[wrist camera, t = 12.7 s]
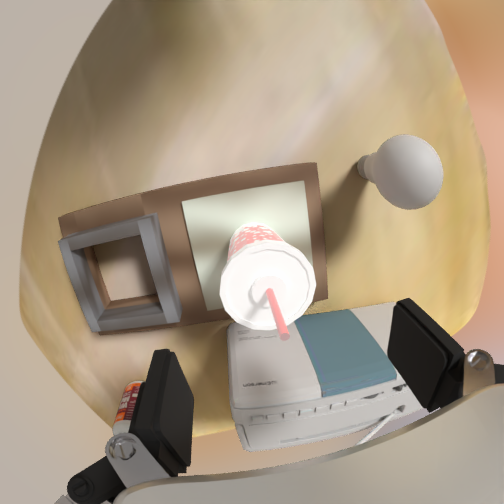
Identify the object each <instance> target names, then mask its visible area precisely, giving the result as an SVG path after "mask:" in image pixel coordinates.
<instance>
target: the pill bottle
mask: <svg viewBox="0 0 504 504" xmlns="http://www.w3.org/2000/svg"><path fill="white" fill-rule="evenodd" d="M142 382H145V381H133V382H131V383H129V384H128V385H127V386H126V388H125V391H124V394H123V397H122V400H121V403H120V406H119V409H118V412H117V416H116V419H115V422H114V426H113V435H114V436H115V435H117V434H119V433H128V431H129V427H130V422H131V418H132V414H133V410H134V407H135V403H136V399H137V395H138V391H139V388H140V385H141V383H142Z"/></svg>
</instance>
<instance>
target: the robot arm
mask: <svg viewBox="0 0 504 504" xmlns="http://www.w3.org/2000/svg"><path fill="white" fill-rule="evenodd" d="M463 351H464V349H463V348H462V347H461V346H460V345H459V344H458V343H457V342H456V341H455V340H454V339H453V338H452V337H451V336H450V335H449V334H448V333H447V332H446V331H445V330H444V329H443V328H442V327H441V326H440V325H439V324H437V323H436V322H435V321H434V320H433V319H432V318H431V317H430V316H429V315H428V314H427V313H426V312H425V311H424V310H422V309H421V308H420V307H419V306H418V305H417V304H416V303H415V302H414V301H413V300H411V299H410V298H406V299H403V300H400V301H398V302H397V303H396V305H395V306H394V308H393V315H392V322H391V329H390V336H389V342H388V348H387V356H388V358H389V360H390V361H391V363H392V364H393V366H394V367H395V368H396V370H397V371H398V373H399V374H400V375H401V377H402V378H403V380H404V381H405V383H406V384H407V385H408V387H409V388H410V390H411V391H412V393H413V394H414V396H415V397H416V399H417V400H418V402H419V403H420V404H421V406H422V407H423V408H427V410H428V412H429V413H430V412H432V411H434V410H436V409H438V408H439V407H440V408H441V409H439V410H437V411H435V412H433V413H432V414H429V415H427V416H426V417H424V418H421V419H419V420H417V421H415V422H413V423H411V424H409V425H407V426H405V427H402V428H400V429H398V430H395V431H393V432H391V433H388V434H386V435H383V436H381V437H378V438H376V439H373V440H370V441H368V442H365V443H362V444H359V445H356V446H353V447H350V448H347V449H344V450H341V451H338V452H335V453H331V454H328V455H323V456H320V457H316V458H312V459H308V460H304V461H299V462H295V463H290V464H285V465H280V466H275V467H269V468H263V469H256V470H249V471H241V472H232V473H223V474H210V475H194V476H178V473H186V468H187V466H190V464H191V445H192V425H193V409H194V397H193V394H192V392H191V389H190V387H189V385H188V383H187V380H186V378H185V376H184V374H183V371H182V369H181V367H180V364H179V362H178V360H177V357H176V355H175V353H174V352H170V350H169V349H161V350H155V351H154V353H153V357H152V361H151V364H150V368H149V371H148V375H147V379H146V382H142V383H141V385H140V388H139V391H138V395H137V399H136V403H135V407H134V410H133V414H132V418H131V422H130V427H129V431H128V433H119V434H117V435H115V436H113V437H112V438H111V439H110V440H109V441H108V442H107V445H106V447H105V453H106V455H107V456H105V457H103V458H102V459H100V460H99V461H97V462H96V463H94V464H93V465H91V466H89V467H88V468H86V469H85V470H83V471H81V472H80V473H78V474H76V475H74V476H73V477H72V478H71V479H70V481H69V482H68V486H67V492H68V494H67V495H66V496H64V495H62V496H61V497H60V498H59V499H58V500H57V501H56V503H55V504H504V365H500V364H494V362H493V358H492V357H491V355H490V354H489V353H488V352H486V351H484V350H481V349H473V350H470V351H469V352H467V354H465V353H464V352H463Z"/></svg>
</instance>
